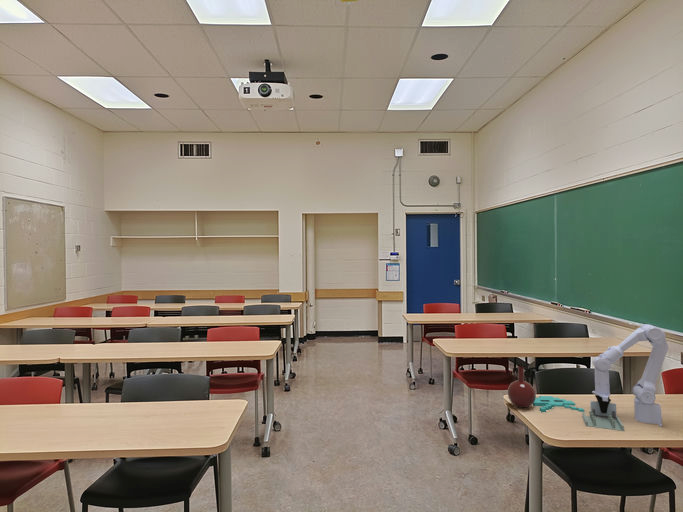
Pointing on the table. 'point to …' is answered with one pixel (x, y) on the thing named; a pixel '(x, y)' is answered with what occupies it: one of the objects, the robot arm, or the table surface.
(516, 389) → the round-bottom flask
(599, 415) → the stand
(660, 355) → the robot arm
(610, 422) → the rack
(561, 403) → the teal pixel shape
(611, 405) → the long pale grey plank
